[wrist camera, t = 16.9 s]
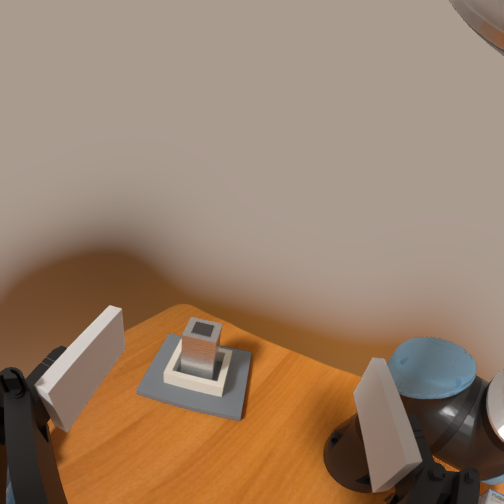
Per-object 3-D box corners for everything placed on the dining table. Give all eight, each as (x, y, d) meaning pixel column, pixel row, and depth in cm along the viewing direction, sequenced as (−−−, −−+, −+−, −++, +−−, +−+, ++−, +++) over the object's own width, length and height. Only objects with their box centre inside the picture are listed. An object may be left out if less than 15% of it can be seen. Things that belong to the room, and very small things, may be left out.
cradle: (250, 355, 58) (253, 342, 56) (239, 420, 41) (243, 408, 39) (169, 336, 58) (169, 323, 57) (136, 393, 41) (134, 380, 40)
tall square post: (216, 364, 52) (222, 323, 48) (211, 384, 46) (216, 342, 43) (188, 358, 52) (191, 316, 48) (180, 377, 46) (182, 334, 43)
